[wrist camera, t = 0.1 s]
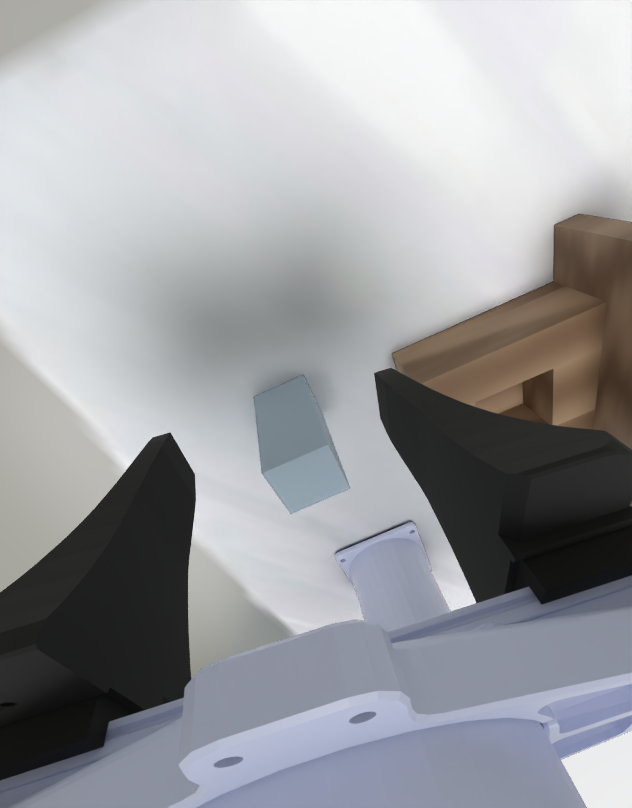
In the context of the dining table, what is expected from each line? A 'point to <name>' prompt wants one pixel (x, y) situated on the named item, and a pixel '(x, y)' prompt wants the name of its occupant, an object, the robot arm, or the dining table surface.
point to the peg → (297, 446)
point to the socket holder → (548, 340)
